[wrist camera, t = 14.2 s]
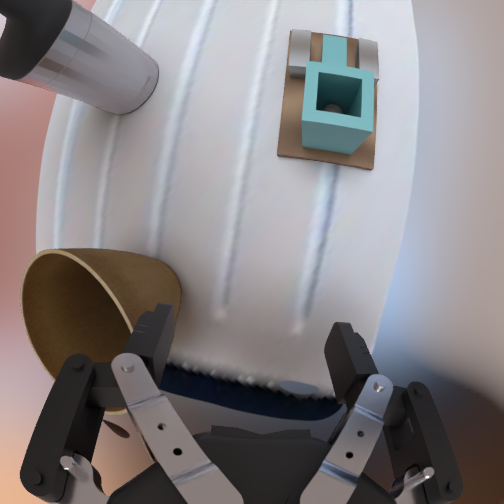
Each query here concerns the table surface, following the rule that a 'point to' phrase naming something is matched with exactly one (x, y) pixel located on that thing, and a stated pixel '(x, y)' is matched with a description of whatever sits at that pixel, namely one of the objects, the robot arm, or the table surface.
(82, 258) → the plant pot
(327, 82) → the link
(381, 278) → the table surface
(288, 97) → the base
